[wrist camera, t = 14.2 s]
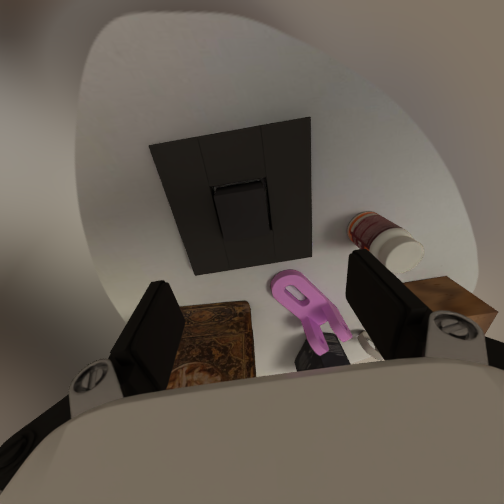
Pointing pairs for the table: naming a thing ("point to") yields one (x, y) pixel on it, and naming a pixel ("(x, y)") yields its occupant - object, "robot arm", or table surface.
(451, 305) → the wooden block
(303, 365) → the box
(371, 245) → the pill bottle
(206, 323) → the book
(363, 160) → the table surface
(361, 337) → the wristwatch
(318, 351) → the bracket
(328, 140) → the table surface
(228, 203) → the pad
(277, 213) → the base pad
